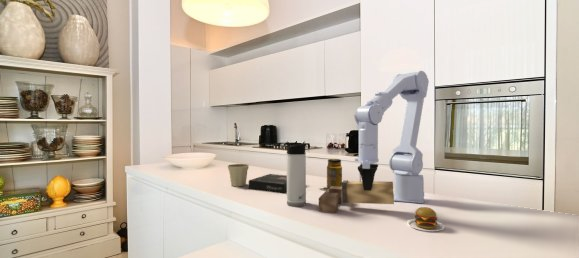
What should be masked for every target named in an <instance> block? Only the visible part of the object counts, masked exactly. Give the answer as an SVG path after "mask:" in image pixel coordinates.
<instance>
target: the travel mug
mask: <svg viewBox="0 0 579 258" xmlns="http://www.w3.org/2000/svg"><path fill="white" fill-rule="evenodd" d="M306 147H307V143H305V142H304V143H302V144H300V143H299V144H292V145H288V146H286V175H287V192H286V204H287V205H288V206H290V207H303V206H305V205H306V204H307V184H306V183H307V182H306V178H307V177H306V175H307V169H306V168H307V167H306V165H307V163H306Z"/></svg>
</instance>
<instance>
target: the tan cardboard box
mask: <svg viewBox="0 0 579 258" xmlns="http://www.w3.org/2000/svg"><path fill="white" fill-rule="evenodd" d="M340 205H343V195H342V187H338V186H331V187H330V188H329V189H327V190H326V191H325V190H324V192H323V193H322V194H321V195H320V196H319V197H318V212H322V213H332V214H337V213H338V210H339V206H340Z"/></svg>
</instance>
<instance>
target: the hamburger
mask: <svg viewBox="0 0 579 258" xmlns="http://www.w3.org/2000/svg"><path fill="white" fill-rule="evenodd" d="M438 220H439V217H438V215H437V212H436V211H435V210H434V209H433V208H431V207H427V206H421V207H418V208H417V209H416V210H415V213H414V218H412V219H411V218H410V219H408V220H407V221H406V224H407V225H408V226H409V227H411V228H413V229H415V230H419V231H422V232H431V233H432V232H433V233H434V232H439V231H443V230H444V229H445V228H446V226H445V225H444V224H443V223H441V222H439V221H438ZM412 223H415V225H416V226H417V227H415V226H412V225H411V224H412ZM438 226H439V227H440V229H437V230H436V229H435V228H436V227H438ZM434 229H435V230H434Z"/></svg>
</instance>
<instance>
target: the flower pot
mask: <svg viewBox="0 0 579 258" xmlns="http://www.w3.org/2000/svg"><path fill="white" fill-rule="evenodd" d="M226 166H227V170H228V172H229V178H230V185H231V186H232V187H235V188H236V187H242V186H246V185H247V177H248V170H249V167H250V164H247V163H234V164H232V163H231V164H227V165H226Z"/></svg>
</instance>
